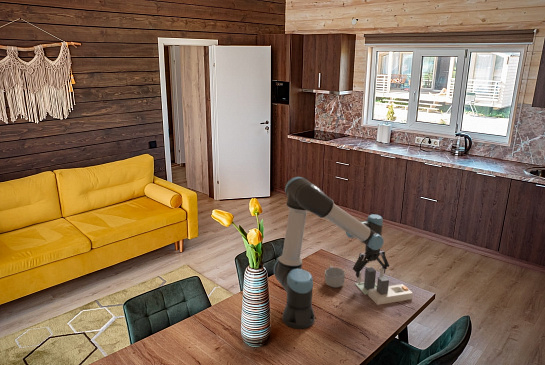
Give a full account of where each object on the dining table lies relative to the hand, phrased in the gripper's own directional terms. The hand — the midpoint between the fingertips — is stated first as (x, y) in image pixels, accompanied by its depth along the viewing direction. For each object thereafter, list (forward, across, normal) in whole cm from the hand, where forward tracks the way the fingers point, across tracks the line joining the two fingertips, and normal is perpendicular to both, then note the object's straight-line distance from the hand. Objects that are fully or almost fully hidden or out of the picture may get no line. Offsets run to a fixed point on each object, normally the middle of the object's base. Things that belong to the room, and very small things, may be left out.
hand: (370, 280), depth 227 cm
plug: (+4, 0, 0) cm, 4 cm away
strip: (+5, +6, -11) cm, 13 cm away
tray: (+5, 0, 0) cm, 5 cm away
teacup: (+5, -16, +10) cm, 20 cm away
